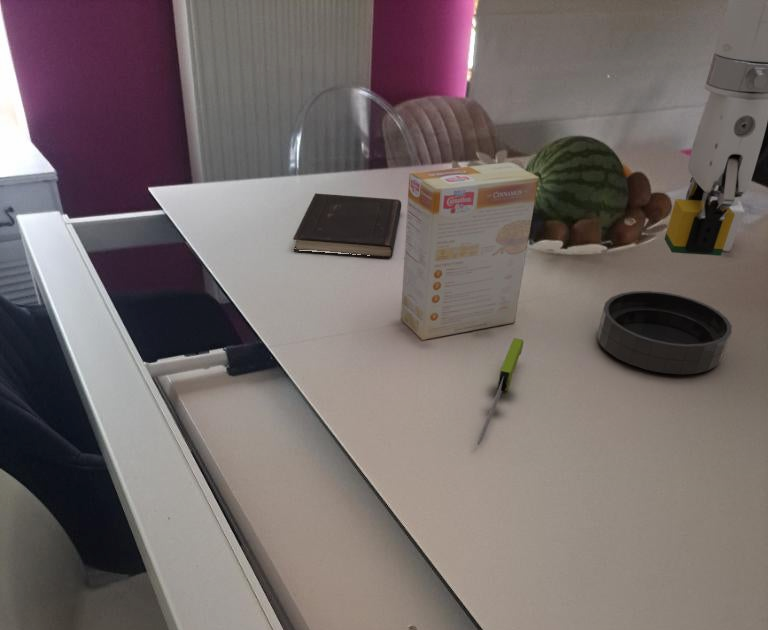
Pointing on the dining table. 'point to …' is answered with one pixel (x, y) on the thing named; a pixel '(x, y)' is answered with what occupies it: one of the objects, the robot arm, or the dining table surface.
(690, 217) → the sponge
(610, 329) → the bowl
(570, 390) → the dining table surface
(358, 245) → the hardcover book
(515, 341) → the kitchen knife
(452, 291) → the coffeecake box
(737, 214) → the medicine bottle
